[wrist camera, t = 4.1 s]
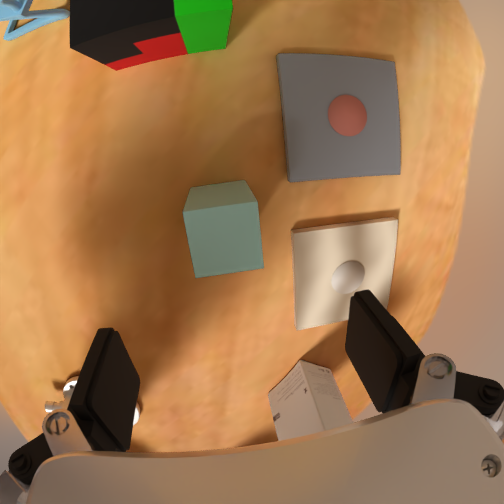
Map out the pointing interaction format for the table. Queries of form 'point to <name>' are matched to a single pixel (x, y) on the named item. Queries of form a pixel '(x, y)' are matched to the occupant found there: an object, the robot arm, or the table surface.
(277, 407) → the skincare box
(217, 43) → the puzzle toy
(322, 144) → the slate mat
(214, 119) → the table surface
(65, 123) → the table surface
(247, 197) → the teal block
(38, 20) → the chair
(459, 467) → the robot arm
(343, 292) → the birch pad
